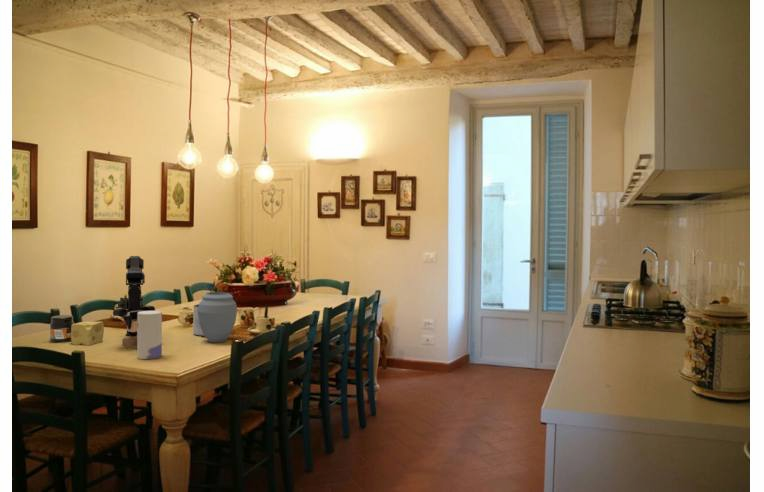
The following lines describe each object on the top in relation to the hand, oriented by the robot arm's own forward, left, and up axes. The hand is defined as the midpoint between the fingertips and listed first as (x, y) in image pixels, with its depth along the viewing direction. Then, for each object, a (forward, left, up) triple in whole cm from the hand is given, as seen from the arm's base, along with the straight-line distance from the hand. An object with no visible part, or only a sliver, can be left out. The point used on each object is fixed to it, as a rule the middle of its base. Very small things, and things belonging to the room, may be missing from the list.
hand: (134, 328), depth 273 cm
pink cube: (0, 0, -1) cm, 1 cm away
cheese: (+10, -24, -9) cm, 27 cm away
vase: (-33, +20, -9) cm, 40 cm away
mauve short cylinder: (0, 0, -9) cm, 9 cm away
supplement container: (+15, -38, -9) cm, 42 cm away
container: (+8, +25, -9) cm, 27 cm away
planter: (-42, +2, -9) cm, 43 cm away
